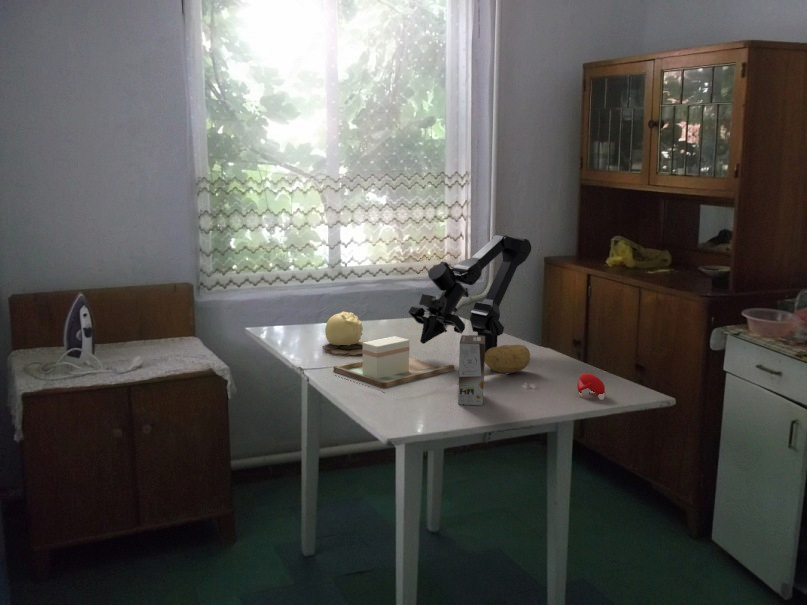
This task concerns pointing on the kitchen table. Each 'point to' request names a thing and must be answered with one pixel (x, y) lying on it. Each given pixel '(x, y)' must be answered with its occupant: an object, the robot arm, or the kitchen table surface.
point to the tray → (413, 374)
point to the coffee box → (471, 369)
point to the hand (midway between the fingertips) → (421, 342)
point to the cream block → (385, 357)
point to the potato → (507, 358)
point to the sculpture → (343, 329)
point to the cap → (590, 384)
